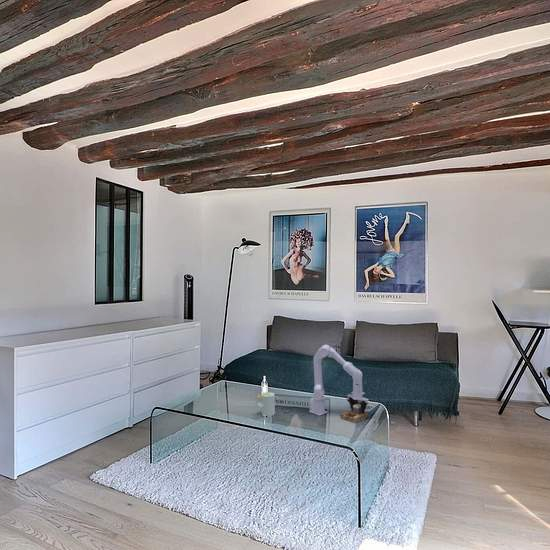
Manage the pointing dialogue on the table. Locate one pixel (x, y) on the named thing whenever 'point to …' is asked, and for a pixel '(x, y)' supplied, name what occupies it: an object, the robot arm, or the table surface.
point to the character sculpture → (267, 403)
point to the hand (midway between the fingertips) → (357, 411)
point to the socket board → (353, 416)
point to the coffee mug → (357, 400)
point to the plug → (357, 409)
